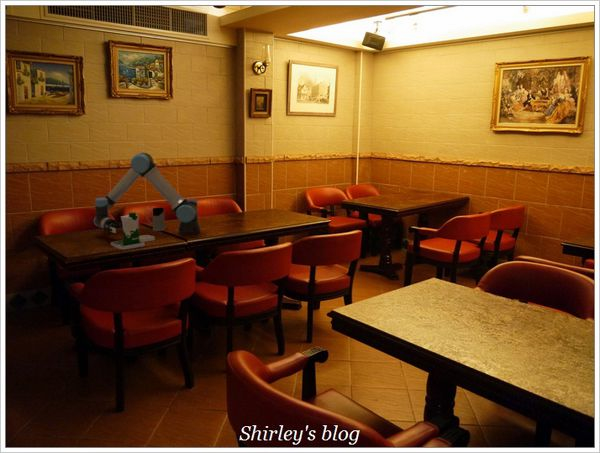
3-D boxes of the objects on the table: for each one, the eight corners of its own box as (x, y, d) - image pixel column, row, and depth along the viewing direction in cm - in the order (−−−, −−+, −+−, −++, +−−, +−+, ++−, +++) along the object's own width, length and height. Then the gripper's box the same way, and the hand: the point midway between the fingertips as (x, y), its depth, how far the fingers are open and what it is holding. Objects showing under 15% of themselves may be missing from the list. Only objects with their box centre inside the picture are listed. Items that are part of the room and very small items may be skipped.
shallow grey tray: (132, 241, 325) (132, 238, 324) (144, 245, 315) (144, 242, 315) (110, 245, 315) (110, 242, 314) (122, 249, 305) (122, 246, 304)
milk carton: (131, 247, 309) (129, 214, 305) (120, 245, 313) (118, 213, 309) (142, 244, 317) (140, 212, 313) (131, 242, 321) (129, 211, 317)
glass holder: (161, 230, 358) (161, 209, 355) (143, 229, 361) (142, 208, 358) (167, 228, 367) (166, 207, 364) (149, 227, 369) (148, 206, 366)
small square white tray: (147, 237, 337) (147, 234, 336) (154, 240, 331) (154, 236, 330) (135, 239, 330) (134, 236, 330) (142, 242, 324) (141, 239, 324)
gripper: (128, 227, 337) (144, 232, 323) (90, 232, 319) (106, 238, 305) (127, 216, 336) (144, 220, 321) (89, 221, 318) (105, 226, 304)
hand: (125, 229), depth 313 cm, fingers open, 13 cm apart
